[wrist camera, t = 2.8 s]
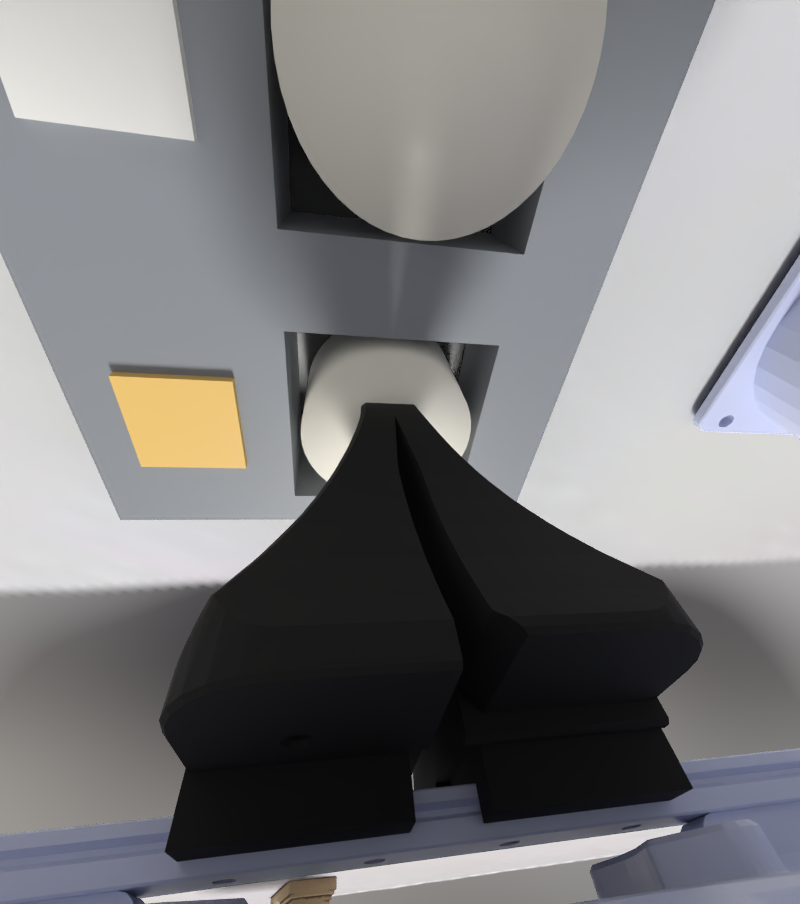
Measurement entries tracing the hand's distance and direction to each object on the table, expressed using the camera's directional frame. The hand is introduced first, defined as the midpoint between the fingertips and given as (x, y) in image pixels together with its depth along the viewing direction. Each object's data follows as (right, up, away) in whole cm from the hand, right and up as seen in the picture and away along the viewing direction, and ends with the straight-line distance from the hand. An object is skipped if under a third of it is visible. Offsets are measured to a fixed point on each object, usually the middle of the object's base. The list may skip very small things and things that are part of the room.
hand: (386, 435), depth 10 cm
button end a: (0, +2, +2) cm, 3 cm away
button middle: (+1, +6, -3) cm, 7 cm away
